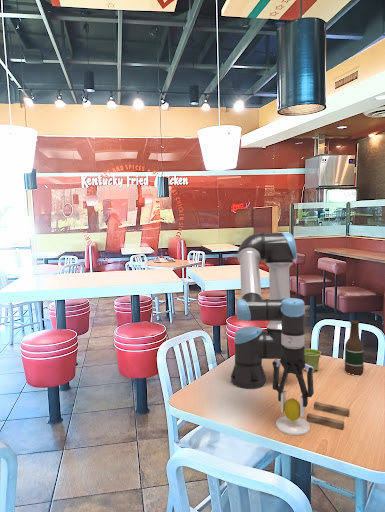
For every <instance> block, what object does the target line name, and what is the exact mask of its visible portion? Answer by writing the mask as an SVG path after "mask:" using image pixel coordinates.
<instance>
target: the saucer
mask: <svg viewBox="0 0 385 512" xmlns="http://www.w3.org/2000/svg"><path fill="white" fill-rule="evenodd" d="M275 427H276V429H277V430H278V431H279V432H281V433H283V434H285V435H288V436H304V435H306V434H308V433H309V432H310V429H311V425H310V422H308V421H307V419H305V418H303V417H300V418H299V419H298V420H295V421H294V422H292V421H291V420H289V419H288V418H287V417H286V415H284V416H281V417H279V418H277V420H276V421H275Z"/></svg>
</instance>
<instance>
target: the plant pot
mask: <svg viewBox="0 0 385 512" xmlns="http://www.w3.org/2000/svg"><path fill="white" fill-rule="evenodd" d="M321 355H322V351H320V350H318V349H315V348H313V349H312V348H305V362H306V364H307V365H309V366H314V370H313V371H315V370H317V369H318V370H319V361H320V357H321ZM305 369H306V368H305ZM315 372H316V371H315Z"/></svg>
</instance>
